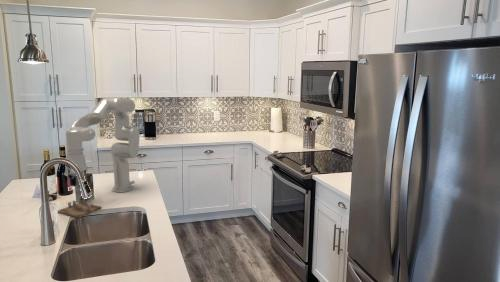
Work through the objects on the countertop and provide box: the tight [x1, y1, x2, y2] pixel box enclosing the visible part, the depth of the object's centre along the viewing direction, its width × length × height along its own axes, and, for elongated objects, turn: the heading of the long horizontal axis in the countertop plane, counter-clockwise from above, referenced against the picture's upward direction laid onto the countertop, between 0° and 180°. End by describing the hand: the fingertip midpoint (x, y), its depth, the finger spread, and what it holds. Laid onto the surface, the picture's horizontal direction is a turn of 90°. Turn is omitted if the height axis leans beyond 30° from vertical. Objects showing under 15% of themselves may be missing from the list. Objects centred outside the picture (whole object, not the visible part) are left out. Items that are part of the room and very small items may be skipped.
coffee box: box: [74, 172, 95, 204], centre depth 220 cm, size 9×6×16 cm
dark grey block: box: [67, 174, 86, 188], centre depth 202 cm, size 5×8×6 cm, turn 64°
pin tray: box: [57, 200, 102, 219], centre depth 205 cm, size 16×16×4 cm
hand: (77, 183), depth 202 cm, fingers closed on dark grey block, 5 cm apart
